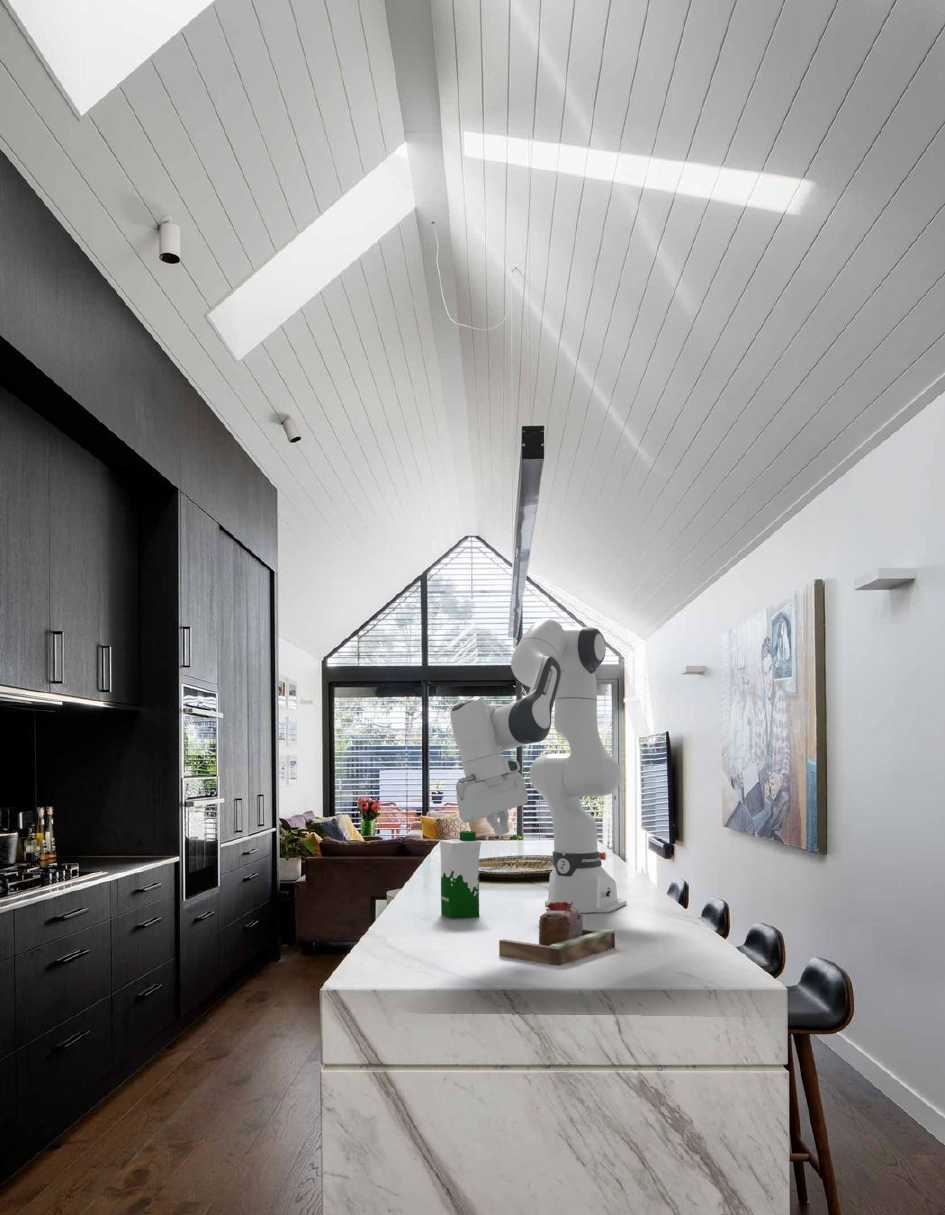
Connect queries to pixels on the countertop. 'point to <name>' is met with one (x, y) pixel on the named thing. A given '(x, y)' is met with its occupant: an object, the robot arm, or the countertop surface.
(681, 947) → the countertop surface
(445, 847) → the milk carton
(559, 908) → the food item
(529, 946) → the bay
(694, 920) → the countertop surface
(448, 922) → the countertop surface
